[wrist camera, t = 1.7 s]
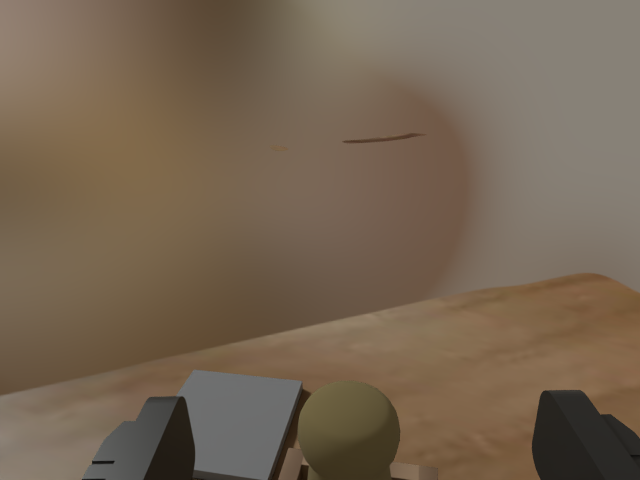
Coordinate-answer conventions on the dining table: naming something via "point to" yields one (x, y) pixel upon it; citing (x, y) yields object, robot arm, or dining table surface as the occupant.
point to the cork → (348, 432)
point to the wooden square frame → (403, 475)
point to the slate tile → (238, 423)
